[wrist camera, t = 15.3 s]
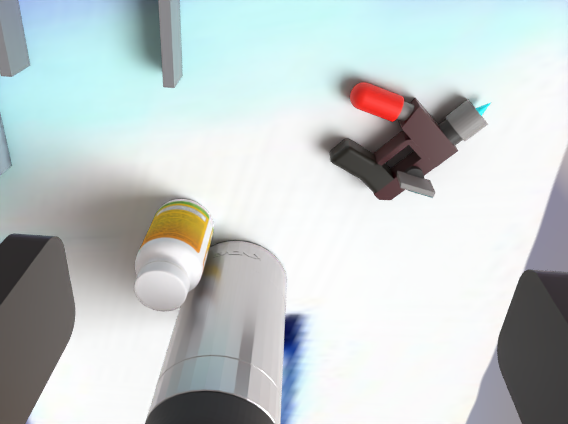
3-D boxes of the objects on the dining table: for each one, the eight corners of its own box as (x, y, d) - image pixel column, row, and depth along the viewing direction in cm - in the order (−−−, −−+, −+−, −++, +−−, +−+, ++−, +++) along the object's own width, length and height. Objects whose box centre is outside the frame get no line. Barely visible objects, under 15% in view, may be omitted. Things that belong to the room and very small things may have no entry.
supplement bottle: (146, 203, 47) (112, 269, 39) (203, 191, 46) (181, 256, 38) (167, 252, 50) (140, 324, 42) (222, 241, 49) (205, 312, 41)
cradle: (182, 75, 41) (174, 88, 39) (19, 64, 41) (0, 76, 39) (178, -35, 37) (168, -30, 35) (-2, -47, 37) (-25, -43, 35)
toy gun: (497, 112, 42) (519, 135, 38) (378, 201, 47) (385, 231, 43) (425, 19, 39) (439, 34, 35) (303, 124, 43) (303, 149, 39)
